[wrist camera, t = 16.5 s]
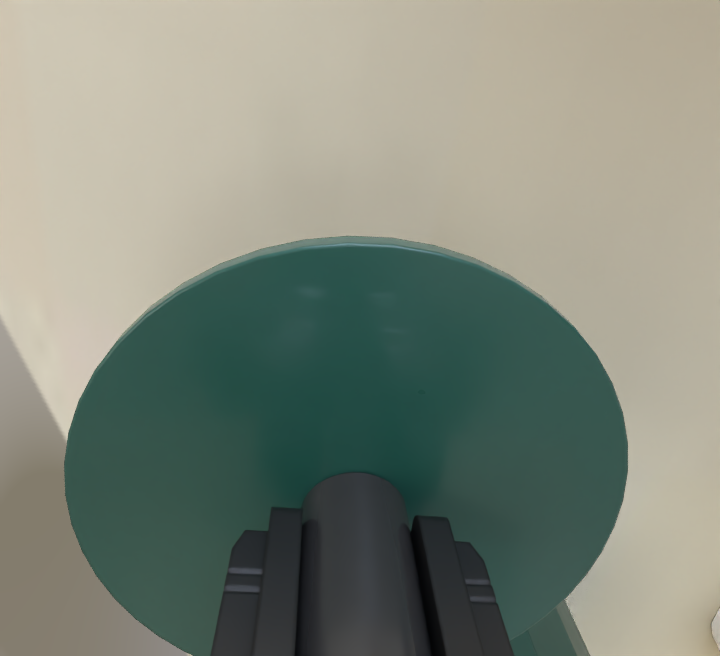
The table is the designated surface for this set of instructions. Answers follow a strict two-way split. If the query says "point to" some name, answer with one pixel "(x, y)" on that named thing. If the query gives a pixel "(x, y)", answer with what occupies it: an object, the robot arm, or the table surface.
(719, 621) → the foam cup
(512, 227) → the table surface
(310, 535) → the lid
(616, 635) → the table surface
